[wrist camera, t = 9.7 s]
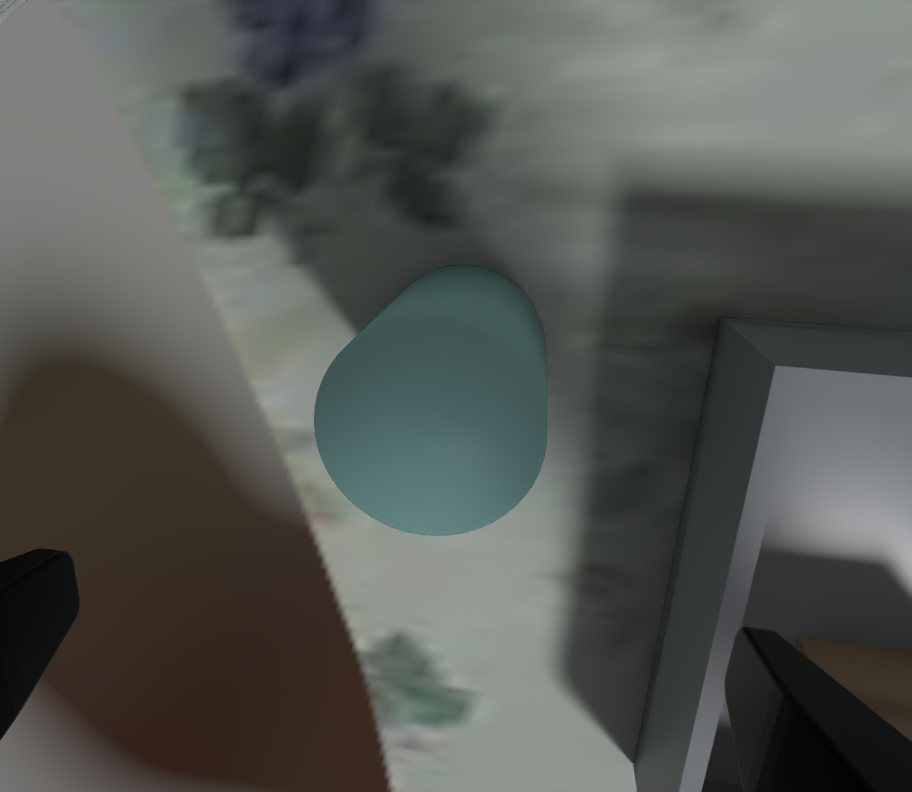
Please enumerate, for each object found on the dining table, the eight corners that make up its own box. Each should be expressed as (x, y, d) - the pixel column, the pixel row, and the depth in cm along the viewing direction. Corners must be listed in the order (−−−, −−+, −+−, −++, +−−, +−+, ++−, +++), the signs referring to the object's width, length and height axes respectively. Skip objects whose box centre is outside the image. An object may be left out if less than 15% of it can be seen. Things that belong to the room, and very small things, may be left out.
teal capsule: (536, 429, 22) (534, 547, 15) (382, 414, 22) (315, 522, 16) (553, 272, 20) (559, 328, 13) (385, 258, 20) (312, 306, 14)
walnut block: (916, 775, 23) (1011, 931, 19) (765, 754, 24) (820, 901, 19) (961, 657, 22) (1078, 795, 17) (798, 636, 22) (867, 766, 17)
